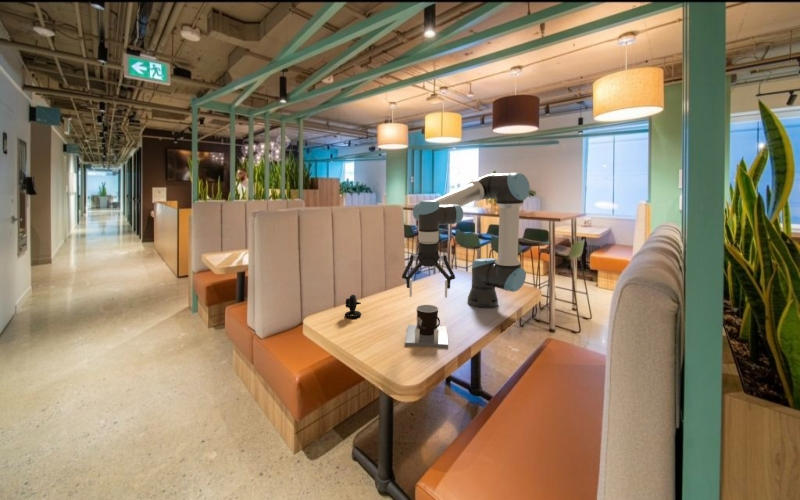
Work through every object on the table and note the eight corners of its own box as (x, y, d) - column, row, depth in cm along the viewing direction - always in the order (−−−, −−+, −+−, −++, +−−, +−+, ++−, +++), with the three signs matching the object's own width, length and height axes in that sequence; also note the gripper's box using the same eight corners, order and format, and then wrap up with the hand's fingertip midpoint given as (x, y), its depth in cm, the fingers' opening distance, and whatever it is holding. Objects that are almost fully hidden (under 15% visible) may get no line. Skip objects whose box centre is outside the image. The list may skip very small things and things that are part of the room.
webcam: (346, 312, 160) (345, 292, 158) (362, 313, 160) (361, 292, 158) (343, 319, 152) (342, 297, 150) (359, 319, 152) (359, 297, 150)
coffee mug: (414, 328, 140) (415, 305, 138) (435, 327, 140) (436, 304, 139) (418, 340, 128) (419, 315, 126) (441, 339, 129) (442, 314, 127)
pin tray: (446, 328, 142) (446, 314, 141) (448, 347, 125) (448, 331, 124) (408, 327, 143) (408, 313, 142) (405, 345, 127) (405, 329, 126)
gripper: (461, 240, 130) (460, 293, 134) (396, 240, 132) (397, 292, 136) (463, 243, 123) (461, 299, 127) (394, 243, 125) (395, 298, 129)
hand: (428, 296), depth 132 cm, fingers open, 13 cm apart
